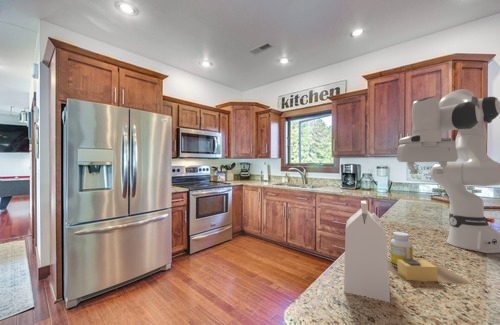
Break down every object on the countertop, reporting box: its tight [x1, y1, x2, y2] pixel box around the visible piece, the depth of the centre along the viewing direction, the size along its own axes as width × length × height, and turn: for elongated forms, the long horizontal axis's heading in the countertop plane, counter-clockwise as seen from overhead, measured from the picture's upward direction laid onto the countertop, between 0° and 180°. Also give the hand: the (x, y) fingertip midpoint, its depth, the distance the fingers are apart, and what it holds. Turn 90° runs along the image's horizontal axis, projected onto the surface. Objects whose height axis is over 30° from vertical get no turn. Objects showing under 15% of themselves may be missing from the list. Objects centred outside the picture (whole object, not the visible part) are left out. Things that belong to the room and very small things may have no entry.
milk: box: [343, 200, 391, 303], centre depth 67 cm, size 12×12×26 cm
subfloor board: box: [388, 261, 473, 285], centre depth 73 cm, size 20×14×1 cm
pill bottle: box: [389, 231, 414, 268], centre depth 77 cm, size 6×6×12 cm
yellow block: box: [397, 258, 438, 282], centre depth 70 cm, size 9×5×5 cm, turn 84°
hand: (427, 173), depth 84 cm, fingers open, 8 cm apart
